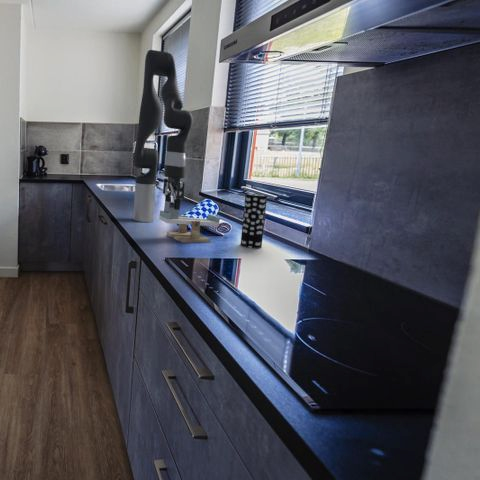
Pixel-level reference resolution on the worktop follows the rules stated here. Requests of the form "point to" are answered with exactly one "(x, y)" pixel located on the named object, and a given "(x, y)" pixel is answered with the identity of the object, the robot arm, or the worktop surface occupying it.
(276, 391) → the worktop surface
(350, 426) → the worktop surface
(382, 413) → the worktop surface
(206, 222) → the beam
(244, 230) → the spotted tube
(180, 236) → the pivot stand
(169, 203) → the steel weight
